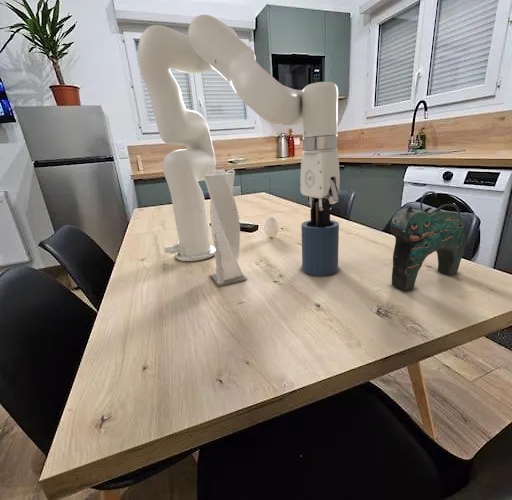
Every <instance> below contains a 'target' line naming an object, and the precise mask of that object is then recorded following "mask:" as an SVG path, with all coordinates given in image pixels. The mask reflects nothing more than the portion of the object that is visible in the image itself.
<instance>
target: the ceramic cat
mask: <svg viewBox="0 0 512 500" xmlns="http://www.w3.org/2000/svg"><path fill="white" fill-rule="evenodd" d="M428 194H432V196H433V197H434V198H436V197H437V192H436V191H433V190H429V191H426V192H424V193H423V194H422V195H421V198H420V203H419V208H420V209H414V208H412V205H409V207H408V208H406V207H405V208H401V209H399V210H398V211H396V212H395V213H394V215H393V217H392V219H391V222H390V232H391V234H392V236H393V237H394V238H395V243H394V249H393V254H392V269H391V286H393V287H394V288H396V289H398V290H400V291H403V292H407V291H410V290H413V289H414V287H415V285H416V282H417V277H418V274H419V272H420V269H421V267H422V265H423V264H424V261H425V260H426V258H427V257H428V256H429V255H431V254H433V253H435V252H436V254H437V271H438V273H441V274H444V275H449V276H452V275H455V274H457V273H458V271H459V268H460V264H461V261H462V258H463V255H464V252H465V250H466V244H467V230H466V224H465V221H464V219H463V218H462V216H461V209H460V207H459V206H458V205H457V204H452V203H447V204H442V205H440V206H439V207H437V208H435V209H433V206H431V207H430V206H429V207H425V208H423V201H424V199H425V197H426V196H427V195H428ZM445 207H452V208H455V210H456V212H454V211H451V210H443V208H445Z"/></svg>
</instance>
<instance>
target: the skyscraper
mask: <svg viewBox="0 0 512 500" xmlns="http://www.w3.org/2000/svg"><path fill="white" fill-rule="evenodd" d="M211 165H215V166H214V171H213V174H211V175H206V171H207V168H208V167H209V166H211ZM205 175H206V176H205ZM235 177H236V171H235V169H232V168H231V169H227V170H225V169H217V163H216V164H215V163H211V164H209V165H208V166H207V167H206V169H205V171H204V179H205V180H204V182H205V186H206V190H207V192H208V194H209V198H210V202H209V203H210V205H209V206H210V207H209V219H210V228H211V229H210V230H211V236H212V241H213V247H215V252H214V255H213V256H214V260H215V264H216V265H215V273H212V274H211V275H210V276H211V278H212V280H213V281H214V282H215V283H216V285H217V286H218V287H222V286H227V285H230V284H234V283H235V284H236V283H240V282H242V281H243V282H244V281H246V280H247V278H246V277H245V275H244V274H243V271H242V270H241V266H240V265H239V257H240V247H241V224H240V217H239V211H238V206H237V203H236V200H235V196H234V194H233V192H234V184H235Z"/></svg>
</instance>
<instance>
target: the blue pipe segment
mask: <svg viewBox="0 0 512 500" xmlns="http://www.w3.org/2000/svg"><path fill="white" fill-rule="evenodd" d="M300 226H301V260H302V261H301V267H302V272H303V273H305V274H307V275H310V276H316V277H327V276H331V275H334V274H336V273H337V272H338V271H339V237H340V222H338V221H336V220H333V219H330V225H329V226H325V227H316V224H315V225H312V224H311V219H310V220H306V221H304V222H302V223H301V225H300Z"/></svg>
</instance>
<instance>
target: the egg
mask: <svg viewBox="0 0 512 500" xmlns="http://www.w3.org/2000/svg"><path fill="white" fill-rule="evenodd" d="M263 230H264V234H265V235H266V236H268V237H269V238H275V237H277V235H278V234H279V231H280V223H279V221H278V219H277V218H276V217H275V216H274V215H269V216H268V217H267V218H266V219H265V221H264V223H263Z"/></svg>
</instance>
